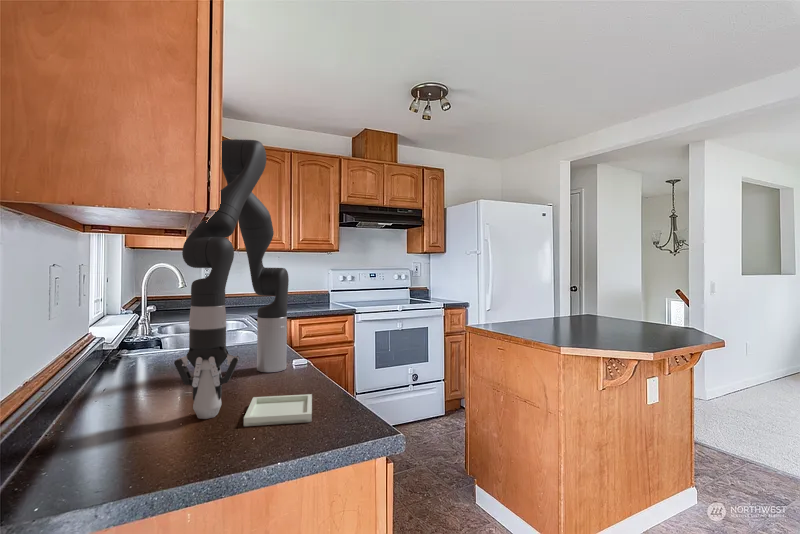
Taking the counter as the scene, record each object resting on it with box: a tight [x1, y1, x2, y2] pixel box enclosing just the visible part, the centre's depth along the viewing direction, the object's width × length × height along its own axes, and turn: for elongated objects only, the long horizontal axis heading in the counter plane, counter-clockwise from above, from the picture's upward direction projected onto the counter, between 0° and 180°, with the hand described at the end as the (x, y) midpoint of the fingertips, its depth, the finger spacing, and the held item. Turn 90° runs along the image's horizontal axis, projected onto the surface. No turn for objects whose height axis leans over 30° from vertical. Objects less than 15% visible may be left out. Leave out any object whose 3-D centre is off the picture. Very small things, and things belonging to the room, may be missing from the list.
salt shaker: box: [192, 359, 223, 420], centre depth 93 cm, size 6×6×13 cm
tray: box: [243, 393, 313, 427], centre depth 95 cm, size 14×14×2 cm
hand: (207, 401), depth 93 cm, fingers closed on salt shaker, 3 cm apart
